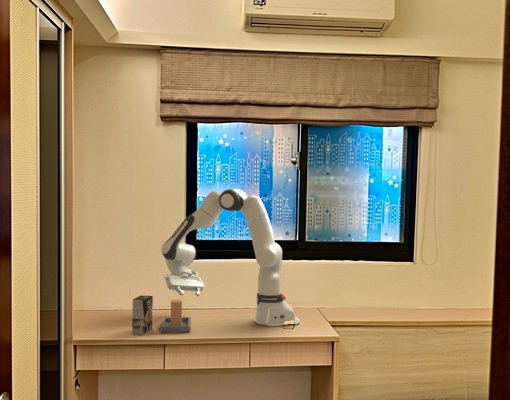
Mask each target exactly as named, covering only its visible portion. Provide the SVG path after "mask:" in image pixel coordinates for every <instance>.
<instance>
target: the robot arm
mask: <svg viewBox="0 0 510 400" xmlns="http://www.w3.org/2000/svg"><path fill="white" fill-rule="evenodd" d="M223 210H224V211H228V212H239V211H241V213H242V214H243V216H244V218H245V221H246V224H247V227H248V231H249V232H250V236H251V241H252V246H253V251H254V254H255V261H256V263H257V264H258V265H259V269H258V274H257V275H258V277H257V293H256V312H255V317H254V320H253V322H254V323H255V324H258V325H262V326H267V327H281V326H282V325H283V324H284V322H285V321H289V320H294V321H295V322H294V324H295V325H294V326H296V325H299V324H300V321H301V320H300V319H299V318H298V317H297V316H296V313H295V310H294V308H293V307H292V306H291V305H290V304H289V303H287V302H286V301H285V300H286V298H287V297H286V296H285V294H283V293H281V275H282V273H281V271H282V263H283V249H282V247H281V246H280V244H278V243H277V242H275V237H274V232H273V227H272V223H271V221H270V218H269V216H268V215H269V214H268V213H267V210H266V207H265V205H264V203H263V201H262V200H261V198H260V197H259V196H256V195H250V196H249V195H248V193H247V191H245V190H244V189H241V188H229V189H225V190H223V191H222V192H219V191H217V190H216V191H215V190H213V191H210V192H209V193H208V194H207V195H206V196H205V197H204V199H203V200H202V202H201V203H200V205H199V207H198V208H197V210H195V211H194V212H193V213H191V214H190V215H188V216H186V217H185V218H184V220H183V221H182V222H181V224H180V225H179V226H178V227H177V229H175V231H174V233H172V235H171V236H170V237H169V238H168V239H167V240H166V241H165V242H164V243H163V245H162V247H161V254H162V256H163V257H164V259H165V263H166V266H167V269H168V271H169V272H170V274H165V275H164V280H165V282H166V287H167V289H168V290H170V291H171V290H173V291H176V293H178V294H179V296H184V294H185V292H187V291H188V292H190V291H191V292H195V293H194V294H195V296H196V297H200V295H201V292H203V290H204V288H205V283H204V282H203V280H202V279H201V277H200V276H199V273H198V272H196V271H193V270H192V269H190V268H188V267H189V266H190V265H191V264H192V263H193V262H194V261H195V259H196V257H197V250H196V248H195V246H194V245H192V244H188V243H184V242H182V241H183V240H184V238H186V236H187V235H188V234H189V233H190V232H192V231H194V230H200V229H208V228H210V227H213V225H214V224H215V223H216V222H217V221H218V218H219V216H220V215H221V213H222V212H223ZM184 291H185V292H184Z"/></svg>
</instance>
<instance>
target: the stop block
mask: <svg viewBox="0 0 510 400" xmlns="http://www.w3.org/2000/svg"><path fill="white" fill-rule="evenodd" d="M170 317H171V326H182V317H183V299H182V298H181V299H178V298H177V299H176V298H175V299H171V300H170Z"/></svg>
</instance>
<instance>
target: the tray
mask: <svg viewBox="0 0 510 400" xmlns="http://www.w3.org/2000/svg"><path fill="white" fill-rule="evenodd" d="M191 318H192V317H190V316H182V326H171V316H169V317H167V316H165V317H163V319H162V323H161V325H160V334H185V333H187V334H188V333H189V334H190V333H191V332H190V331H191V324H192V322H191Z"/></svg>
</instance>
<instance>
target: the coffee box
mask: <svg viewBox="0 0 510 400" xmlns="http://www.w3.org/2000/svg"><path fill="white" fill-rule="evenodd" d="M153 299H154V296H153V295H139V296H136V297H135V298H133V299H132V321H131V322H132V331H131V334H132V335H137V336H139V335H140V336H146V335H147V334H148V333H150V332H152V331H153V328H154V327H153V324H154V323H153V322H154V321H153V319H154V318H153V316H154V315H153V314H154V313H153V305H154V304H153V301H154V300H153Z"/></svg>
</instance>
